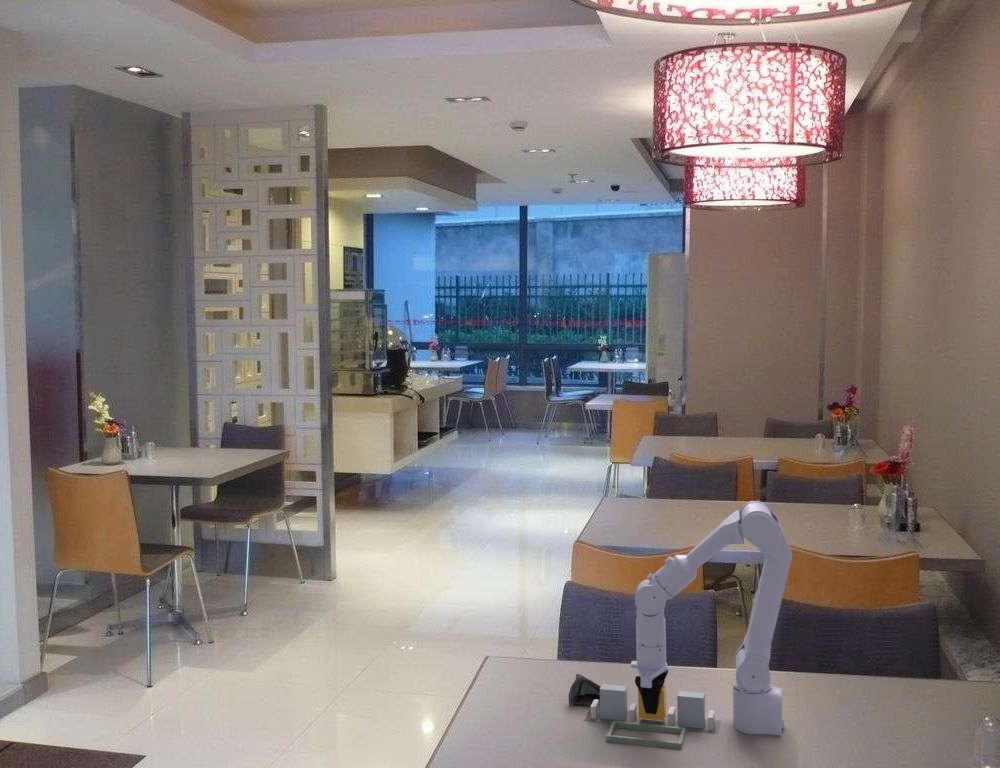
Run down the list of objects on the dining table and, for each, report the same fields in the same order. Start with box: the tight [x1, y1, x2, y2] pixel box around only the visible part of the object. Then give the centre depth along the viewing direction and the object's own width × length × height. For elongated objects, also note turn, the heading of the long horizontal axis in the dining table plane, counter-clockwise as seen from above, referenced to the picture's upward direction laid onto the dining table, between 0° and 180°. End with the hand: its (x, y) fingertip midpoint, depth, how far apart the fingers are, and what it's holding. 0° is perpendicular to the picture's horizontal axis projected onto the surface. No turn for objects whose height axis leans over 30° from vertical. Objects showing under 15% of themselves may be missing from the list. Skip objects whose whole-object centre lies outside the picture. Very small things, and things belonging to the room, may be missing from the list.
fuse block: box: [583, 698, 722, 735], centre depth 199 cm, size 26×6×4 cm, turn 73°
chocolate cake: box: [568, 673, 602, 708], centre depth 210 cm, size 10×7×12 cm
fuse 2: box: [676, 690, 706, 728], centre depth 197 cm, size 5×3×6 cm, turn 73°
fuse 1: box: [599, 683, 629, 721], centre depth 201 cm, size 5×3×6 cm, turn 73°
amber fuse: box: [637, 684, 667, 720], centre depth 199 cm, size 5×3×6 cm, turn 73°
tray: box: [605, 721, 687, 750], centre depth 192 cm, size 14×7×2 cm, turn 73°
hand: (652, 709), depth 199 cm, fingers closed on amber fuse, 3 cm apart
